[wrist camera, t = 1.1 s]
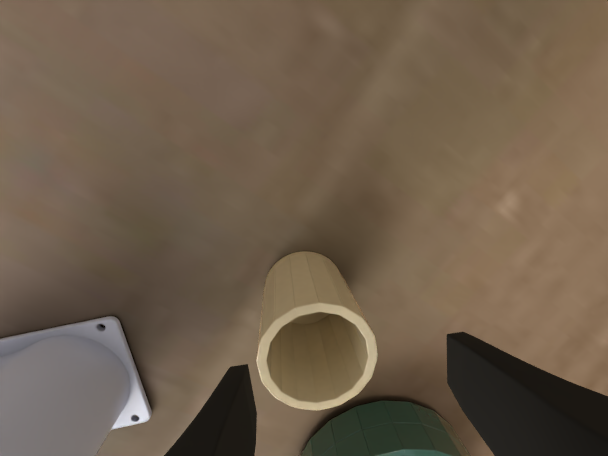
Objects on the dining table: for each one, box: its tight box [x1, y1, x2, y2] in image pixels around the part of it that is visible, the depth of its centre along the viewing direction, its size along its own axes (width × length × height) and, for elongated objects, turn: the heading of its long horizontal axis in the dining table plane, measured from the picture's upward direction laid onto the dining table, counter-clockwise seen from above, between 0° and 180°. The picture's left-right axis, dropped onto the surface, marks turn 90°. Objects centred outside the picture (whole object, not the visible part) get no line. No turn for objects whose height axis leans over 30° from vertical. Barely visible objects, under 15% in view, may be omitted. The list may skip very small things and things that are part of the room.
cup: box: [256, 251, 378, 411], centre depth 18 cm, size 5×5×8 cm
